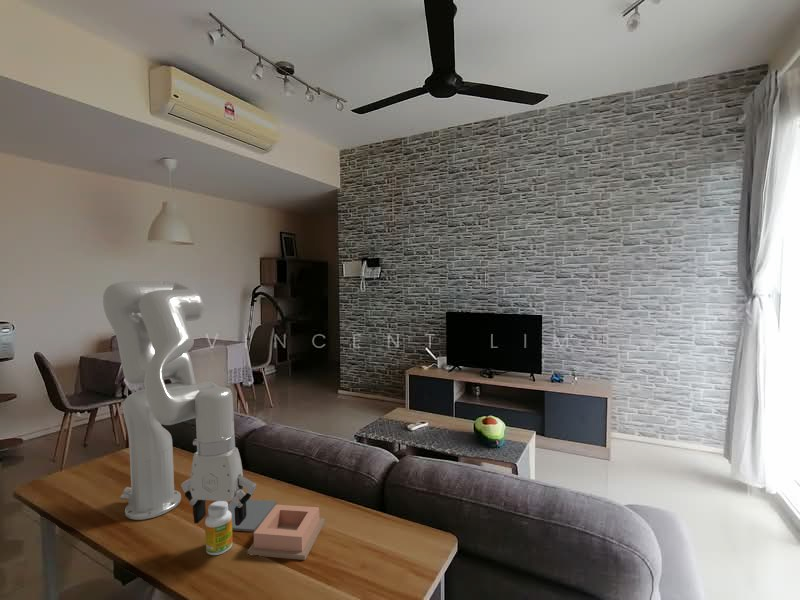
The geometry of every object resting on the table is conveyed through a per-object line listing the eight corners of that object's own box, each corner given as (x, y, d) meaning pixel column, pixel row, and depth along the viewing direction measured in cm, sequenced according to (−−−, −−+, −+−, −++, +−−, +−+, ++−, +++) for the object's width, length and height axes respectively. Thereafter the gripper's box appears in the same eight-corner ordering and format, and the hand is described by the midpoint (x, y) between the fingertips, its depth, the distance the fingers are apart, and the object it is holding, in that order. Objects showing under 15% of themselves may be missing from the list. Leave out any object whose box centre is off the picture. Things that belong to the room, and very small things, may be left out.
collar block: (247, 555, 84) (246, 535, 84) (274, 518, 97) (274, 501, 97) (304, 560, 83) (304, 540, 83) (324, 522, 96) (324, 505, 95)
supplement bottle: (215, 559, 83) (213, 515, 83) (200, 550, 86) (199, 507, 86) (237, 544, 88) (236, 503, 87) (223, 536, 91) (221, 496, 90)
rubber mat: (207, 528, 94) (207, 525, 94) (234, 500, 106) (234, 498, 106) (254, 532, 92) (254, 529, 92) (276, 503, 104) (276, 501, 104)
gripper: (168, 451, 83) (172, 529, 84) (244, 453, 81) (248, 533, 81) (191, 437, 91) (195, 509, 91) (261, 438, 88) (265, 512, 89)
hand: (220, 520), depth 86 cm, fingers open, 9 cm apart
